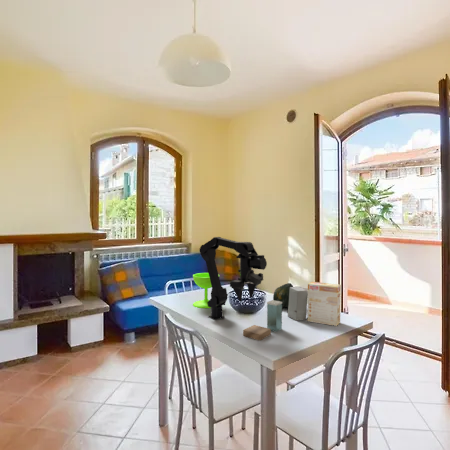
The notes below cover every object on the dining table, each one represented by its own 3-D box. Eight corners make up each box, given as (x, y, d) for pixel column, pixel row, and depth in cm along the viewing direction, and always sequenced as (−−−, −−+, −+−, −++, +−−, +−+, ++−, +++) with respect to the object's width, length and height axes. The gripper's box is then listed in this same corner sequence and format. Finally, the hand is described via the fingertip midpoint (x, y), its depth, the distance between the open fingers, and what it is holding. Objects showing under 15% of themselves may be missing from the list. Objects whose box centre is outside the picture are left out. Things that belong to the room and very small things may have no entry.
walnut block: (243, 336, 148) (243, 329, 148) (254, 331, 155) (254, 324, 155) (259, 341, 143) (260, 334, 143) (270, 335, 150) (270, 329, 150)
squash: (264, 296, 199) (277, 280, 191) (282, 293, 208) (294, 278, 200) (276, 316, 191) (290, 300, 183) (294, 312, 200) (308, 297, 192)
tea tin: (266, 329, 157) (267, 302, 156) (272, 326, 161) (272, 300, 160) (276, 331, 153) (276, 304, 153) (281, 328, 157) (282, 301, 157)
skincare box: (287, 316, 177) (287, 287, 176) (298, 315, 179) (299, 286, 179) (296, 321, 169) (296, 290, 168) (308, 319, 171) (308, 289, 171)
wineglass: (214, 309, 190) (214, 278, 189) (188, 307, 194) (188, 276, 193) (222, 302, 205) (222, 273, 205) (198, 300, 209) (198, 272, 209)
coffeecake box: (340, 322, 167) (341, 284, 166) (337, 326, 161) (337, 286, 160) (311, 317, 175) (311, 281, 174) (307, 321, 169) (307, 283, 168)
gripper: (248, 271, 150) (248, 305, 150) (269, 267, 164) (269, 298, 165) (229, 269, 157) (229, 302, 157) (251, 265, 172) (251, 295, 172)
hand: (245, 299), depth 163 cm, fingers open, 9 cm apart
